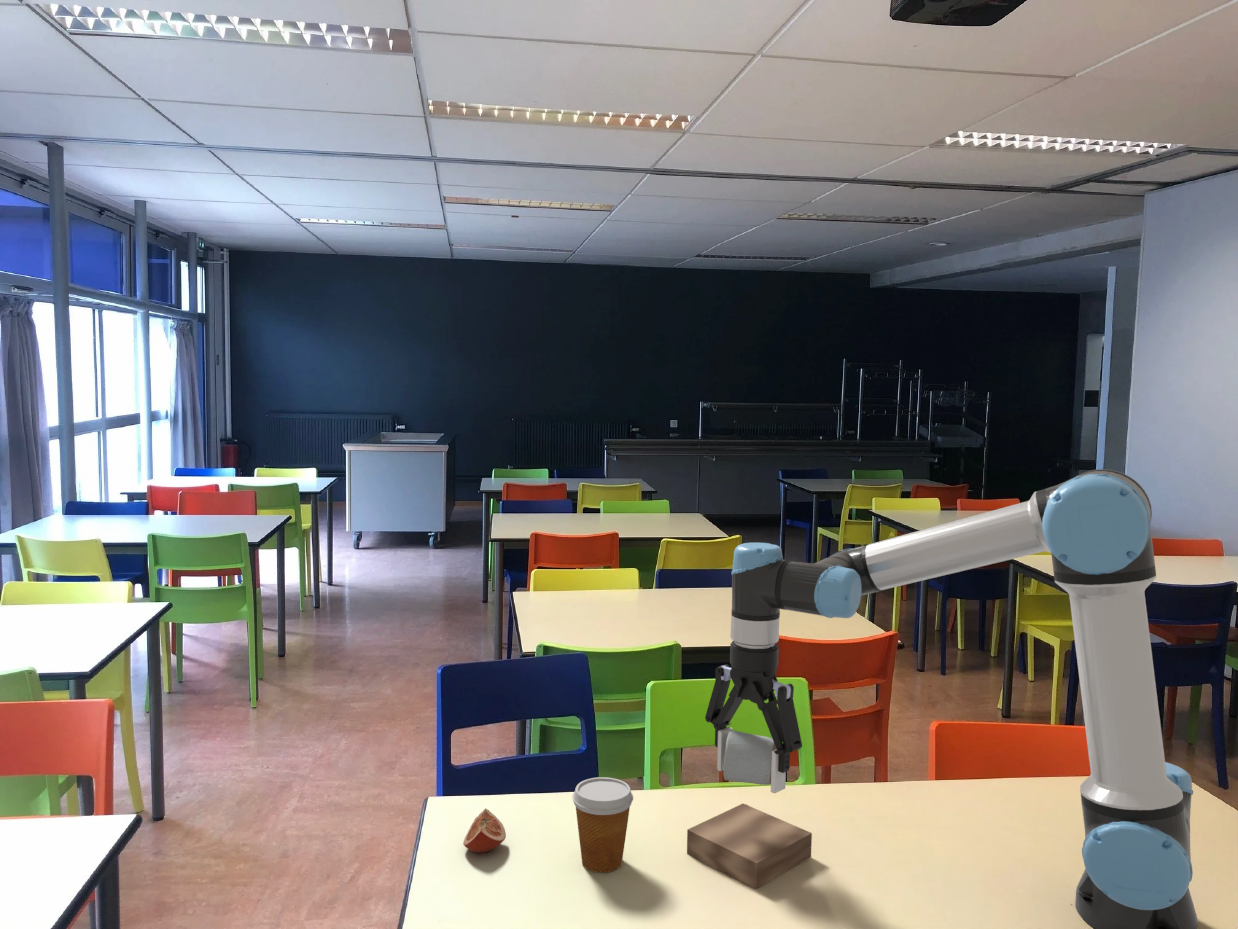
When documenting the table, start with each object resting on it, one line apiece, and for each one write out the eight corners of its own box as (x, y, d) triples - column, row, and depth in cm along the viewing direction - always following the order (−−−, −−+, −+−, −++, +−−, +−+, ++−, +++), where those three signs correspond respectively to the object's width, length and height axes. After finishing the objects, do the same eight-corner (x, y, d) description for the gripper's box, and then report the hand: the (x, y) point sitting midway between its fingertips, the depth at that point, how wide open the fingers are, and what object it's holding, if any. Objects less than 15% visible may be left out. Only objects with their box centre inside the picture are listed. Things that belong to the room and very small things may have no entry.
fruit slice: (467, 835, 153) (467, 806, 153) (508, 835, 153) (508, 806, 153) (460, 861, 145) (460, 831, 144) (503, 861, 145) (503, 831, 145)
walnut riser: (811, 857, 147) (811, 833, 147) (756, 889, 138) (756, 863, 138) (742, 826, 158) (743, 803, 157) (686, 853, 148) (687, 829, 148)
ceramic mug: (775, 794, 142) (777, 745, 141) (722, 787, 144) (723, 739, 143) (779, 767, 152) (781, 722, 152) (729, 762, 154) (731, 717, 154)
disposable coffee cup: (579, 882, 139) (580, 805, 138) (565, 851, 148) (566, 779, 147) (639, 874, 142) (641, 799, 141) (623, 844, 151) (624, 773, 150)
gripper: (829, 653, 139) (824, 796, 141) (715, 623, 156) (711, 751, 157) (800, 663, 134) (795, 811, 136) (684, 631, 150) (681, 763, 152)
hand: (750, 779), depth 147 cm, fingers closed on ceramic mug, 10 cm apart
